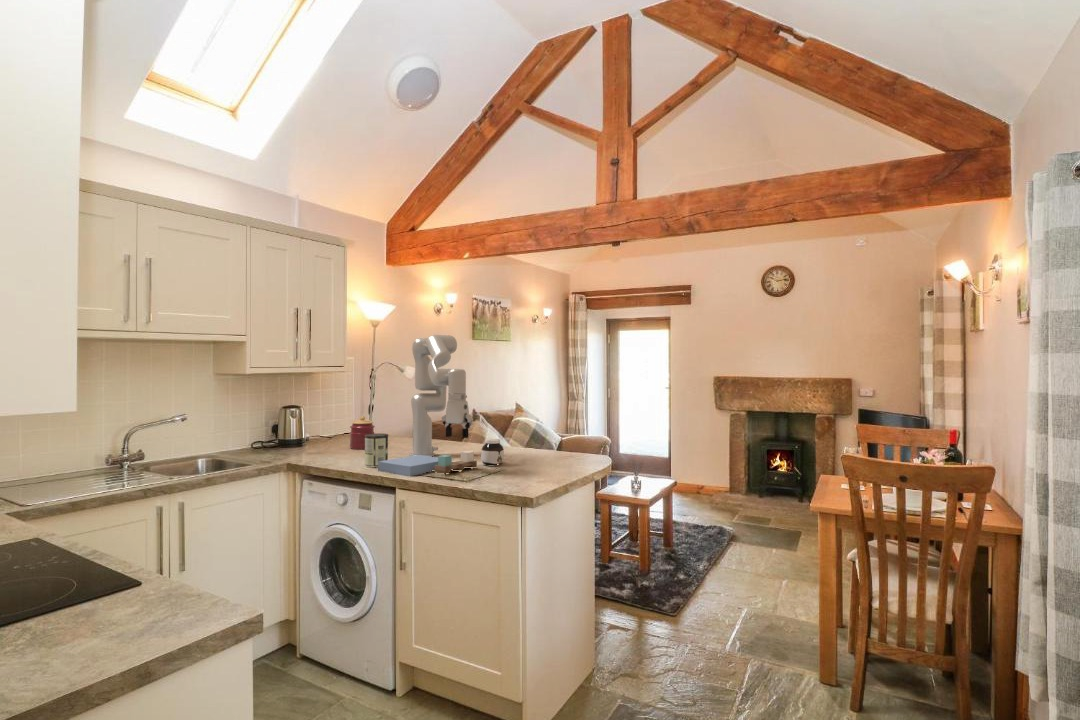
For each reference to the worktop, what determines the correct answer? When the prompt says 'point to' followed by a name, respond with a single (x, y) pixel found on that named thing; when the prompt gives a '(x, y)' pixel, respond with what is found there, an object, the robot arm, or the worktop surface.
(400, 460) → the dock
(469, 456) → the cream cube
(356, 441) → the canister
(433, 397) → the robot arm
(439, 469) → the brown long wavy block
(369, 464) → the coffee can
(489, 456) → the spread jar
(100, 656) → the worktop surface
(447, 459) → the teal cube
